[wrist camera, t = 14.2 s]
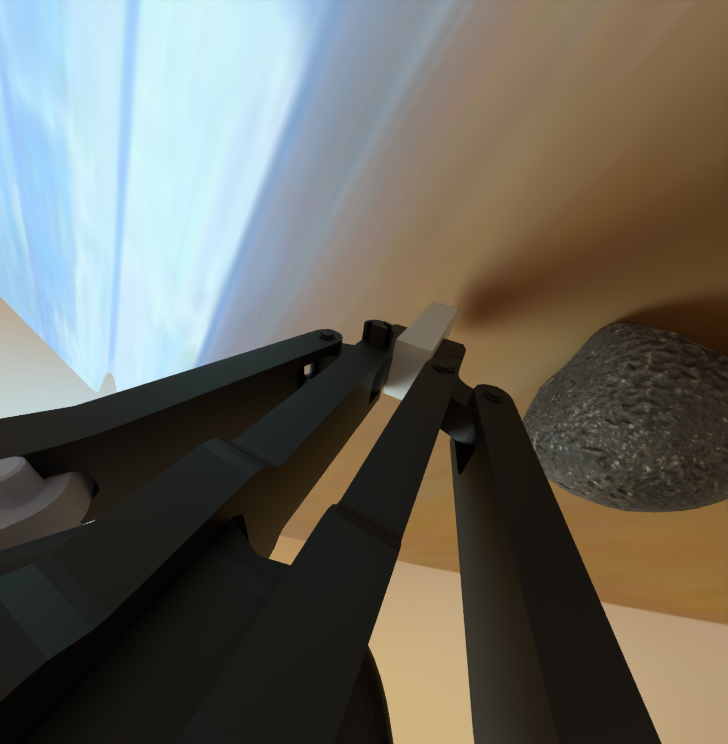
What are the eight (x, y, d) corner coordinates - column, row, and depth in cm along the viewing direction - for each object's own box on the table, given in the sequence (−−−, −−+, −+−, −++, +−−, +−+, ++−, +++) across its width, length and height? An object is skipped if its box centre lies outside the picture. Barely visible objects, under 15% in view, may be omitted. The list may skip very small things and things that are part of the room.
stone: (714, 314, 15) (640, 262, 10) (900, 472, 10) (913, 501, 6) (548, 396, 22) (462, 386, 17) (615, 509, 17) (523, 535, 13)
